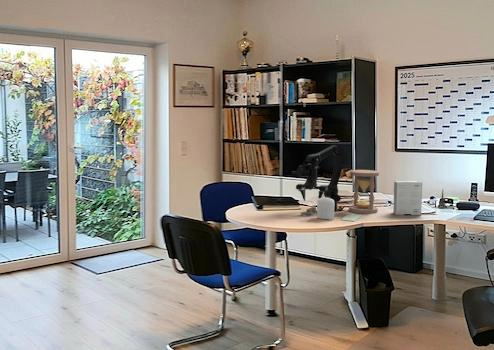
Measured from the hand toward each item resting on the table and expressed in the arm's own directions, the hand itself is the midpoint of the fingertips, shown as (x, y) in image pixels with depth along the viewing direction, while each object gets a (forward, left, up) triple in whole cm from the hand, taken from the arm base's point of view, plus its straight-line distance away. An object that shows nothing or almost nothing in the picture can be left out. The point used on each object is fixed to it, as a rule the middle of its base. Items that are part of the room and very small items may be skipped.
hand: (311, 201), depth 322 cm
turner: (+3, 0, -7) cm, 8 cm away
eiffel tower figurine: (-57, +70, -8) cm, 91 cm away
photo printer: (+13, +13, -7) cm, 20 cm away
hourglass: (-21, +27, -7) cm, 35 cm away
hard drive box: (-24, +53, -7) cm, 59 cm away
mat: (+4, +26, -7) cm, 27 cm away
